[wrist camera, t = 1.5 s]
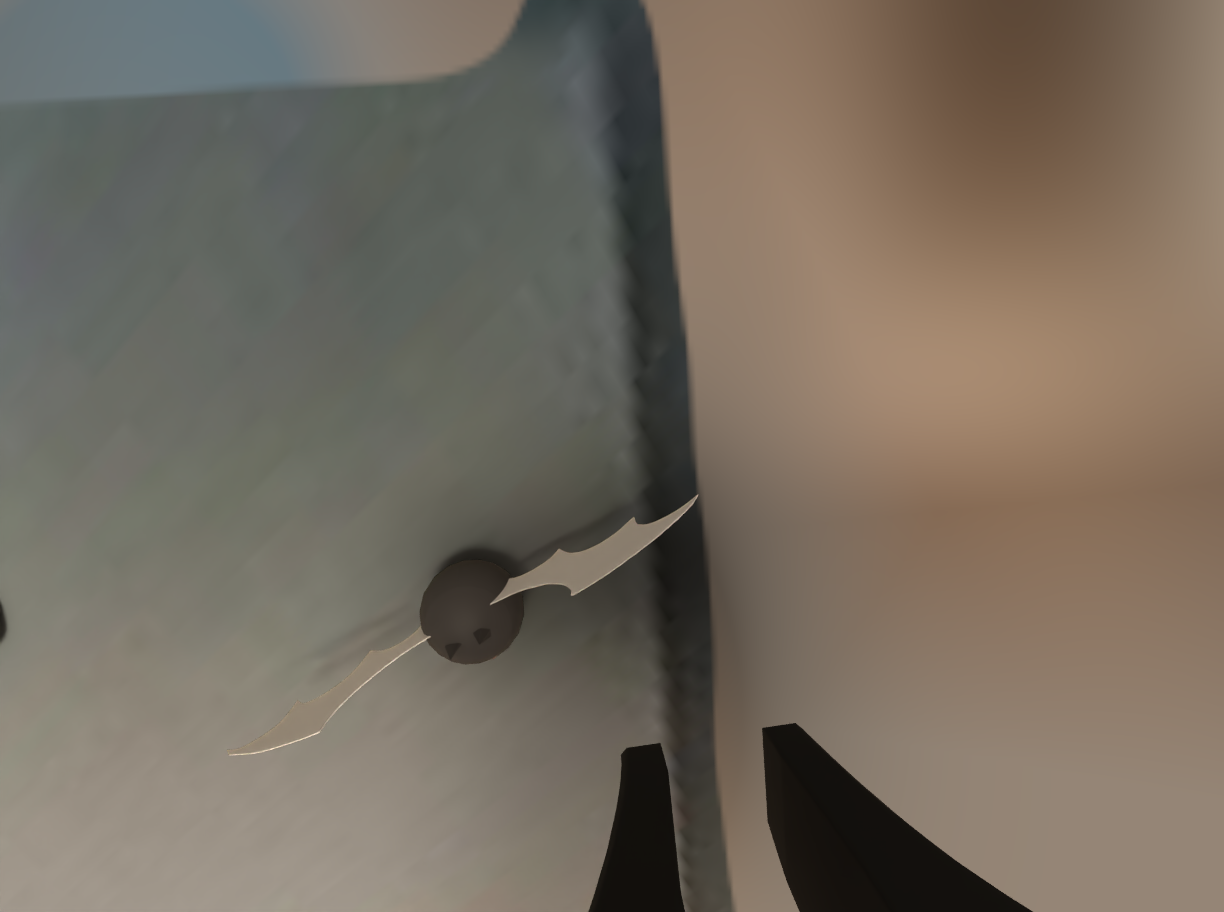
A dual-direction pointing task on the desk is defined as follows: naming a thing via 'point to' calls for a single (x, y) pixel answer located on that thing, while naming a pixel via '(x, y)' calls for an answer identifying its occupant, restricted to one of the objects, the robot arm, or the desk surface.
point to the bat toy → (470, 619)
